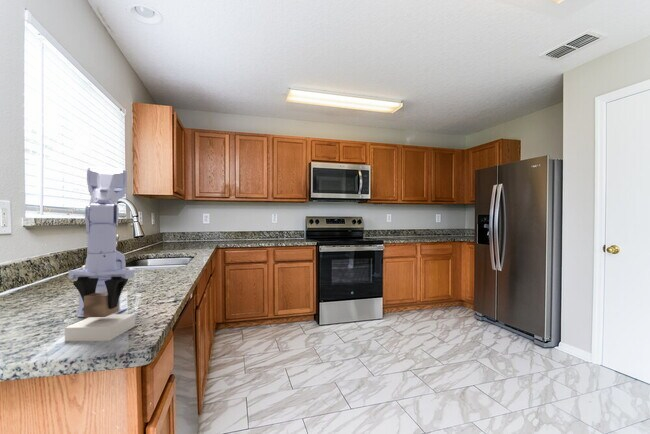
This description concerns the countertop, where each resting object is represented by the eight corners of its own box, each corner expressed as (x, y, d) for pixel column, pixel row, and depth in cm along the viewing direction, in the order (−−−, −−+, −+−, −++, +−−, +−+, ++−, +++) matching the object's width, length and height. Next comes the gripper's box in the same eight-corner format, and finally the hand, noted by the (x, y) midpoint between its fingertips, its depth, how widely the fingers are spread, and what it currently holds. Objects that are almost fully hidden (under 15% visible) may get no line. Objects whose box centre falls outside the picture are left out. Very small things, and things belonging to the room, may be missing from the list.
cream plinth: (64, 342, 69) (64, 327, 69) (96, 327, 79) (96, 314, 79) (109, 342, 69) (109, 327, 69) (135, 327, 79) (135, 313, 79)
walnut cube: (83, 317, 72) (83, 296, 72) (98, 311, 77) (99, 291, 77) (104, 317, 72) (105, 296, 72) (118, 310, 77) (118, 291, 77)
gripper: (57, 254, 70) (57, 312, 70) (121, 254, 70) (120, 312, 70) (81, 251, 77) (81, 304, 77) (139, 251, 78) (138, 304, 77)
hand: (101, 307), depth 74 cm, fingers closed on walnut cube, 5 cm apart
